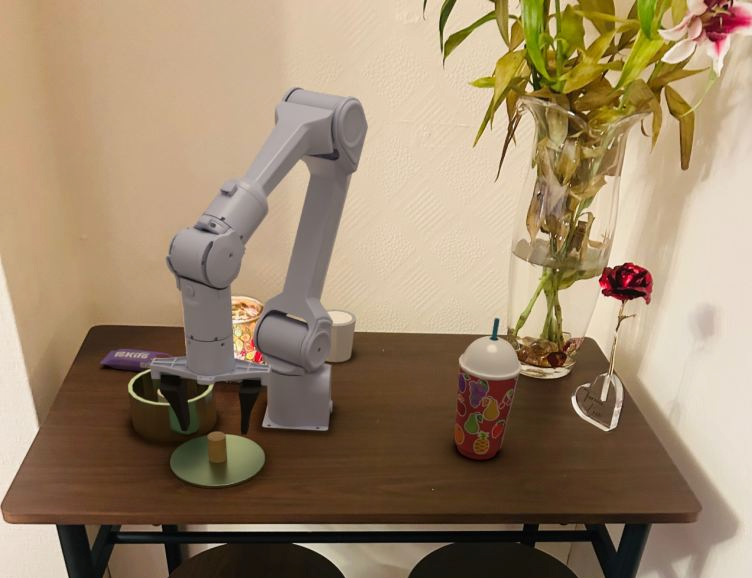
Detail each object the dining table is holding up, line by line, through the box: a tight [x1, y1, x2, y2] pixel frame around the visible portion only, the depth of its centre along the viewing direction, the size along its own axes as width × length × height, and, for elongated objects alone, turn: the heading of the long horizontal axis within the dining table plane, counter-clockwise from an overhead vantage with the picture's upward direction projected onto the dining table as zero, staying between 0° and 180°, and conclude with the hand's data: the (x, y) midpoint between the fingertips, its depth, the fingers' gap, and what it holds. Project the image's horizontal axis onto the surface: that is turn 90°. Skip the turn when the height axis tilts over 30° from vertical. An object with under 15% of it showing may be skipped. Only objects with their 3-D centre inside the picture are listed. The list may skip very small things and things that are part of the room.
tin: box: [127, 369, 218, 443], centre depth 110 cm, size 12×12×6 cm
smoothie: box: [453, 317, 523, 461], centre depth 105 cm, size 8×8×20 cm
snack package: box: [98, 348, 175, 372], centre depth 125 cm, size 12×2×5 cm
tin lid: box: [169, 431, 266, 489], centre depth 102 cm, size 12×12×5 cm
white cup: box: [325, 309, 357, 363], centre depth 131 cm, size 7×7×7 cm
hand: (215, 429), depth 100 cm, fingers open, 7 cm apart
